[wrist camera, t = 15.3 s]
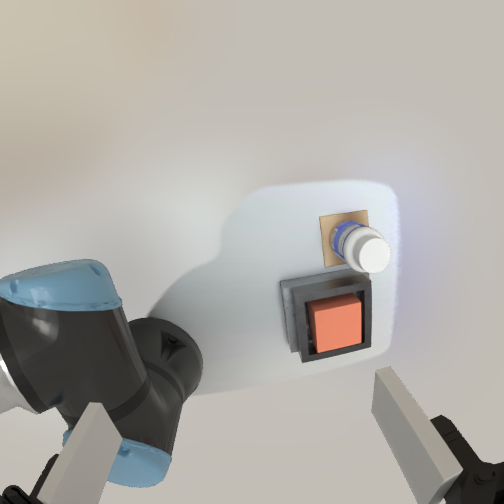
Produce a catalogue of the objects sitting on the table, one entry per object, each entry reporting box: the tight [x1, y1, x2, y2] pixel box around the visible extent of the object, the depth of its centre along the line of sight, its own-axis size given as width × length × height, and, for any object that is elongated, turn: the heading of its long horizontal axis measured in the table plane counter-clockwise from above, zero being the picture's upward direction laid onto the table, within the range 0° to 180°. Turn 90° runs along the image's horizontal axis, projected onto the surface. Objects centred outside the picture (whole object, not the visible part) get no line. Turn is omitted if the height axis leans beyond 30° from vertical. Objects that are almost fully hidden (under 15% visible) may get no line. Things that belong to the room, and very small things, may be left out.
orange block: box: [307, 292, 361, 353], centre depth 37 cm, size 6×6×5 cm
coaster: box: [319, 210, 369, 267], centre depth 39 cm, size 7×7×1 cm
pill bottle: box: [330, 220, 391, 273], centre depth 34 cm, size 5×5×10 cm
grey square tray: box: [280, 268, 372, 363], centre depth 39 cm, size 12×10×6 cm
